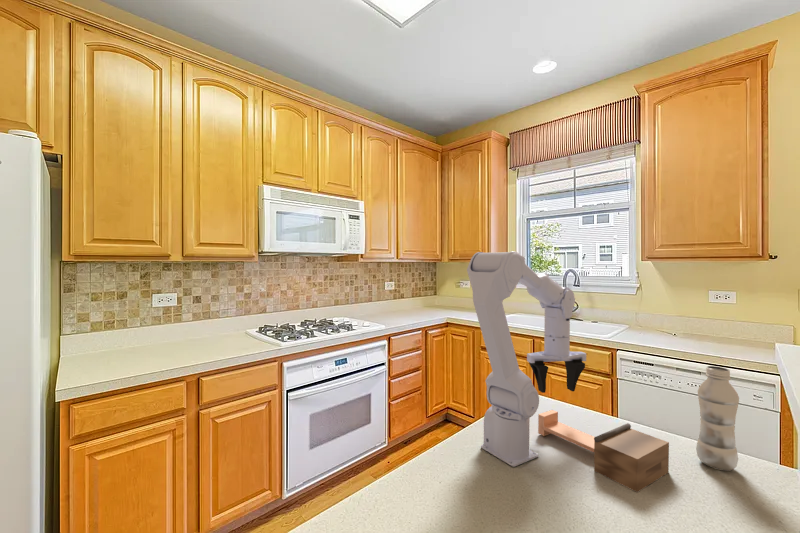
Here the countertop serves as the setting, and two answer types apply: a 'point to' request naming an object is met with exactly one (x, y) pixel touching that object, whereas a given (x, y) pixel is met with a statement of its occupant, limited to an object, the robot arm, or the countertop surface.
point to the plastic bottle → (717, 420)
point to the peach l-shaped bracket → (563, 430)
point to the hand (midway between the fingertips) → (556, 390)
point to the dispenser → (630, 457)
